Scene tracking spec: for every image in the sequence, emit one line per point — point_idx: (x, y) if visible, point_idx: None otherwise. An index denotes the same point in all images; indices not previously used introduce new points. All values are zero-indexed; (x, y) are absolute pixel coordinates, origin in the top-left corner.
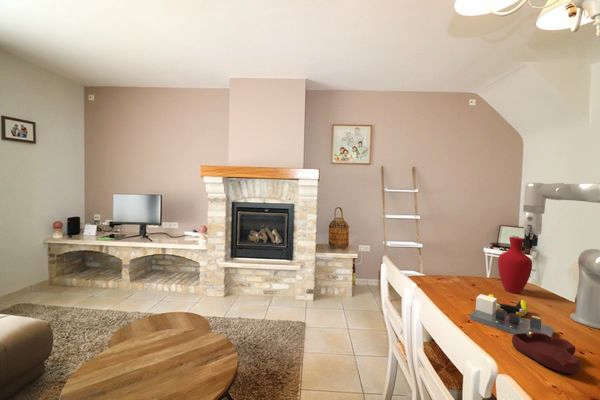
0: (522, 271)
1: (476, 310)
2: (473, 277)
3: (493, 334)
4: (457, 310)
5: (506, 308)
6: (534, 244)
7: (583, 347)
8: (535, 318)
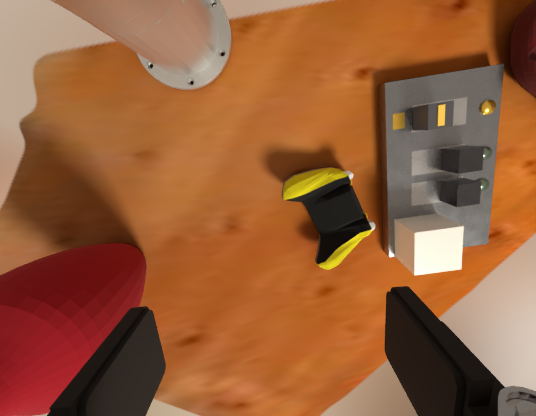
0: (98, 276)
1: None
2: None
3: (526, 171)
4: (443, 277)
5: (360, 207)
6: (147, 335)
7: (418, 8)
8: (451, 114)
